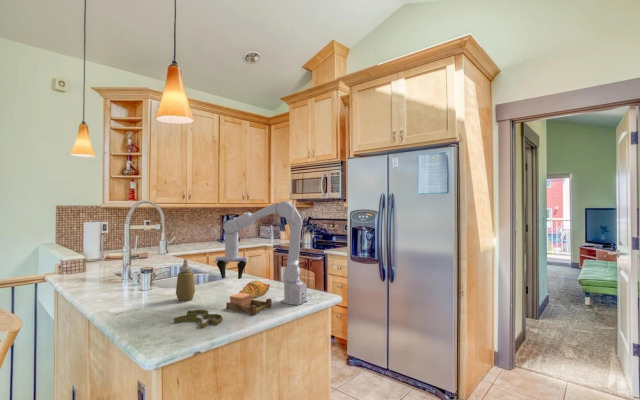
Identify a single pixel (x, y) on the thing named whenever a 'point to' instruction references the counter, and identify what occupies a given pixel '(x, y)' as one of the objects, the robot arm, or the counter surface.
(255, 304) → the brown wooden frame
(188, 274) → the squeeze bottle
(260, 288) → the croissant
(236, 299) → the peach rectangular block
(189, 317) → the cookie cutter
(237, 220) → the robot arm
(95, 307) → the counter surface
